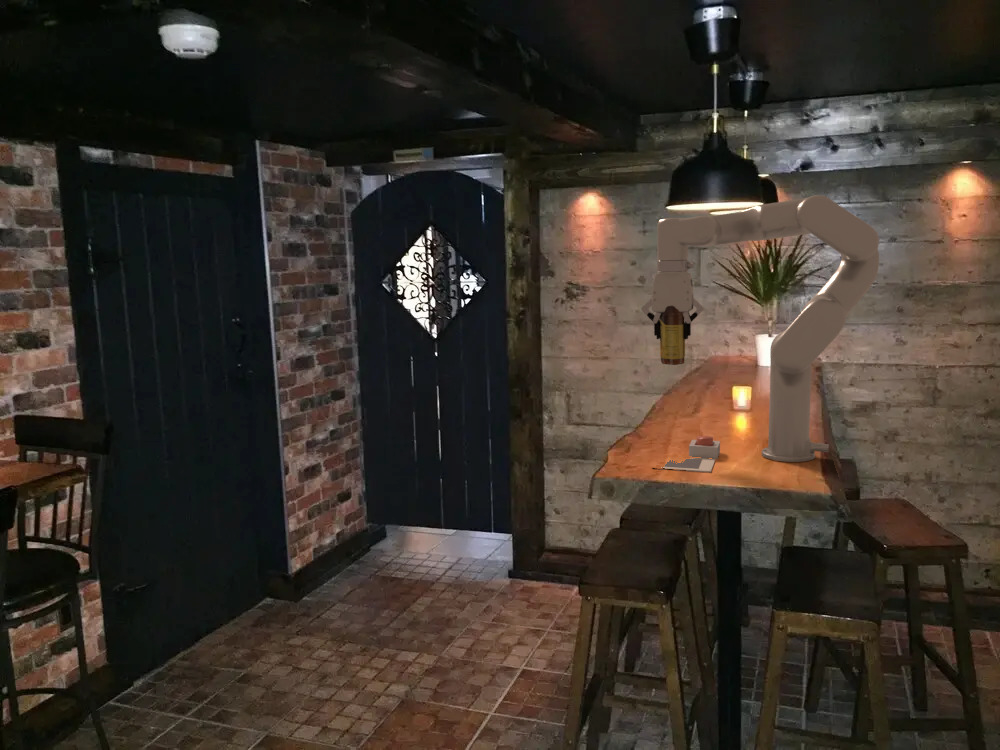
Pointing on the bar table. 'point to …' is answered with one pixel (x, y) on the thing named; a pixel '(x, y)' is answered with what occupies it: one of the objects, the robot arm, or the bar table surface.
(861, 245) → the robot arm
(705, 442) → the button
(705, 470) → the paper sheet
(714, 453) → the button housing
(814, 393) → the bar table surface
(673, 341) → the sauce bottle
